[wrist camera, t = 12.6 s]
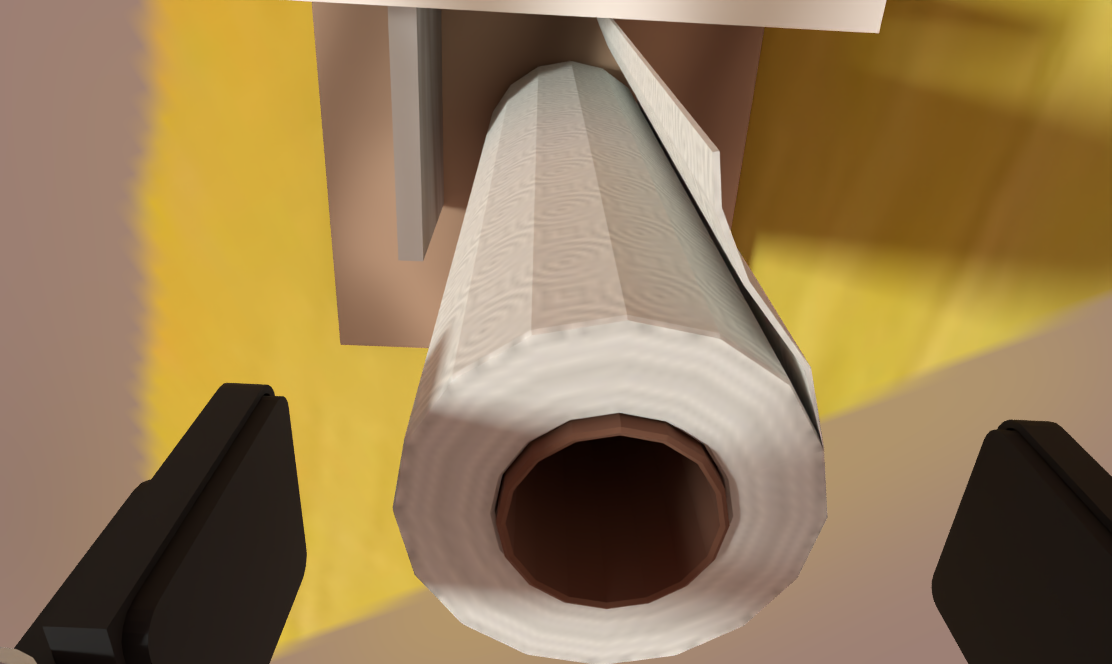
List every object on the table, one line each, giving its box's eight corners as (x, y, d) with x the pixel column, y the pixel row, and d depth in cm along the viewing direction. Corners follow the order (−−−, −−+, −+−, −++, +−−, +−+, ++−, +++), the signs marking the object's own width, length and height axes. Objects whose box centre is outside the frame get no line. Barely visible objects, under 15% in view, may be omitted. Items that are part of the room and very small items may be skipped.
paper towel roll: (563, 248, 31) (597, 732, 12) (454, 139, 29) (294, 522, 10) (703, 124, 29) (1002, 483, 10) (595, -3, 27) (721, 153, 8)
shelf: (765, -49, 28) (894, -37, 18) (703, 342, 35) (769, 510, 25) (316, -76, 27) (182, -80, 17) (348, 328, 35) (267, 494, 24)
